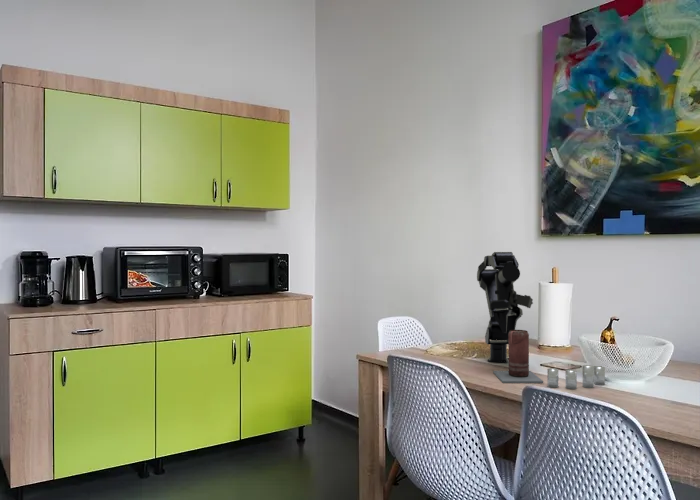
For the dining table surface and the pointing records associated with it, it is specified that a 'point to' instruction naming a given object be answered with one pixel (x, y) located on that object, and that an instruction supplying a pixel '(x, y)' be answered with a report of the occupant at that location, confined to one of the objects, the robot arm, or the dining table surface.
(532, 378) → the mat
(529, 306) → the robot arm
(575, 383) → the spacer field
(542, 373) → the dining table surface
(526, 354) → the can
